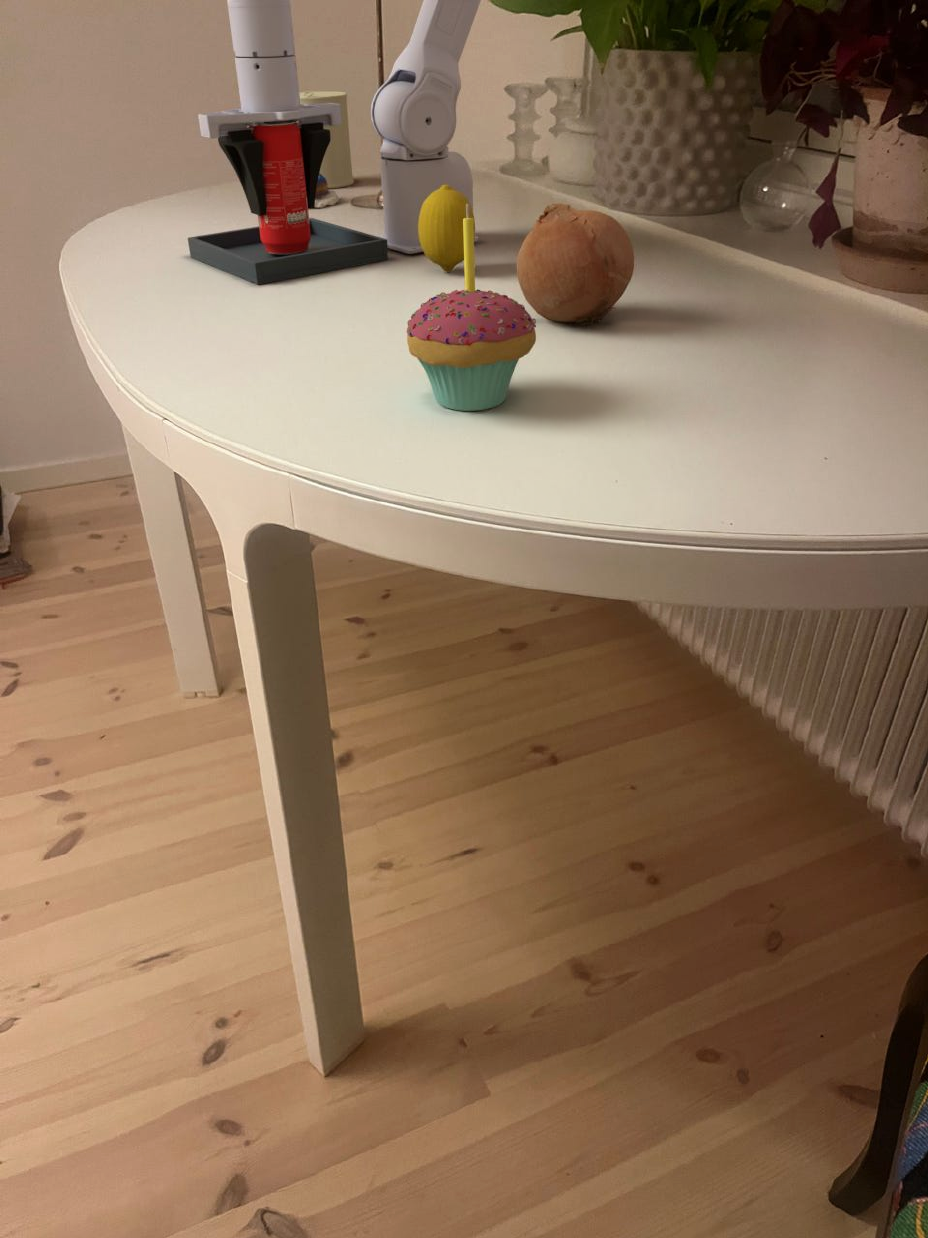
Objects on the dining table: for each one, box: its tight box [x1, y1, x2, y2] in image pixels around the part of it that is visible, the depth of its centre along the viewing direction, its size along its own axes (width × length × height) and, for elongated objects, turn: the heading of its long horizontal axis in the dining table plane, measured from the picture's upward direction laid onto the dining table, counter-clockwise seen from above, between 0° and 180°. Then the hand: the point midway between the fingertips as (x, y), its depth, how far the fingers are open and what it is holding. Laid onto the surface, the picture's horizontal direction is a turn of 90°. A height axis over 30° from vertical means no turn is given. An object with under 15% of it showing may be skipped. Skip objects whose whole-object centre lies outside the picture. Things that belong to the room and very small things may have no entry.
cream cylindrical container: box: [299, 90, 355, 190], centre depth 135 cm, size 9×9×12 cm
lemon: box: [418, 184, 476, 273], centre depth 91 cm, size 6×6×8 cm
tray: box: [187, 217, 389, 286], centre depth 99 cm, size 15×15×2 cm
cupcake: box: [406, 204, 537, 412], centre depth 61 cm, size 9×8×12 cm
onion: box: [516, 202, 635, 326], centre depth 77 cm, size 10×9×10 cm
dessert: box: [314, 173, 340, 208], centre depth 125 cm, size 8×7×6 cm
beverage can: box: [248, 120, 311, 254], centre depth 96 cm, size 5×5×12 cm
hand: (282, 210), depth 97 cm, fingers closed on beverage can, 5 cm apart
